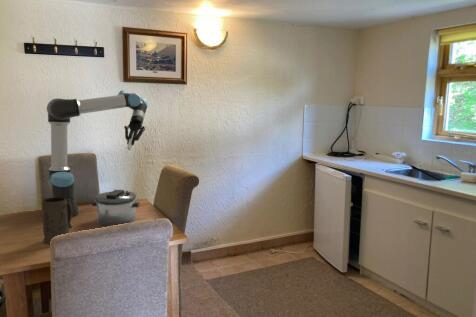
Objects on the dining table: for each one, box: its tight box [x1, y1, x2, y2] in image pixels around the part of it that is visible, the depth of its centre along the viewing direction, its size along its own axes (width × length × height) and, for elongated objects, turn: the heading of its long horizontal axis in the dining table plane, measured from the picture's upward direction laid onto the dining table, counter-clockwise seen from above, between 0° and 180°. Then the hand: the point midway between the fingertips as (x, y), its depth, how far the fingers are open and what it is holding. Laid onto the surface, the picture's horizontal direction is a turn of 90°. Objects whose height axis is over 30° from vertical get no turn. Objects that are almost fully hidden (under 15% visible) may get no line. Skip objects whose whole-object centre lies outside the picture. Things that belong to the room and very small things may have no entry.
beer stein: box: [41, 197, 73, 245], centre depth 181 cm, size 15×11×20 cm
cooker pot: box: [91, 199, 141, 227], centre depth 210 cm, size 25×21×12 cm
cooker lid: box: [94, 189, 137, 204], centre depth 208 cm, size 21×21×4 cm
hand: (128, 148), depth 227 cm, fingers closed
